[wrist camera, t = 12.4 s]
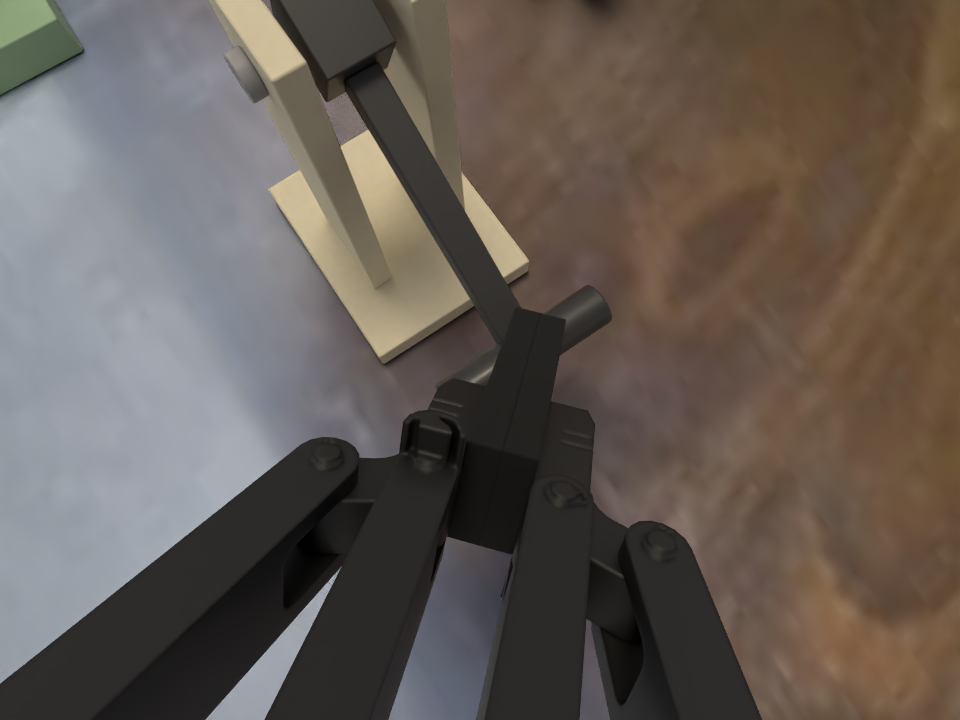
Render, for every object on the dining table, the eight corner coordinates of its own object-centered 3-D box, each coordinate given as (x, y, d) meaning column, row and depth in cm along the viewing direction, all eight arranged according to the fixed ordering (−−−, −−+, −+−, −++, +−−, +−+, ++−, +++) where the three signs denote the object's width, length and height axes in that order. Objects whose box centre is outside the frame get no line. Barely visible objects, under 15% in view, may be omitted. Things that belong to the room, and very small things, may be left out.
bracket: (528, 271, 30) (560, 30, 15) (383, 365, 29) (273, 200, 14) (413, 119, 32) (348, -214, 18) (275, 201, 31) (87, -82, 17)
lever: (593, 318, 22) (625, 324, 20) (451, 413, 21) (467, 431, 19) (391, -52, 19) (401, -96, 17) (214, 45, 18) (199, 13, 16)
